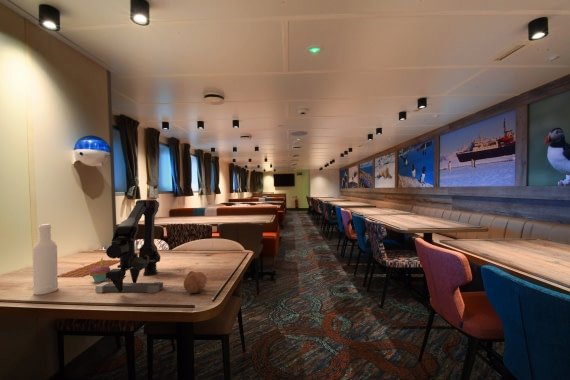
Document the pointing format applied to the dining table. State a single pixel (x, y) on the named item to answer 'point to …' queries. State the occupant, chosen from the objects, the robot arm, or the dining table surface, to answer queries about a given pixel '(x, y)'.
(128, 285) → the tongs base
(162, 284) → the arm
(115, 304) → the dining table surface
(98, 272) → the cupcake
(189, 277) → the tan round lump
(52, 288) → the bottle
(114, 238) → the robot arm
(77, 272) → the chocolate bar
